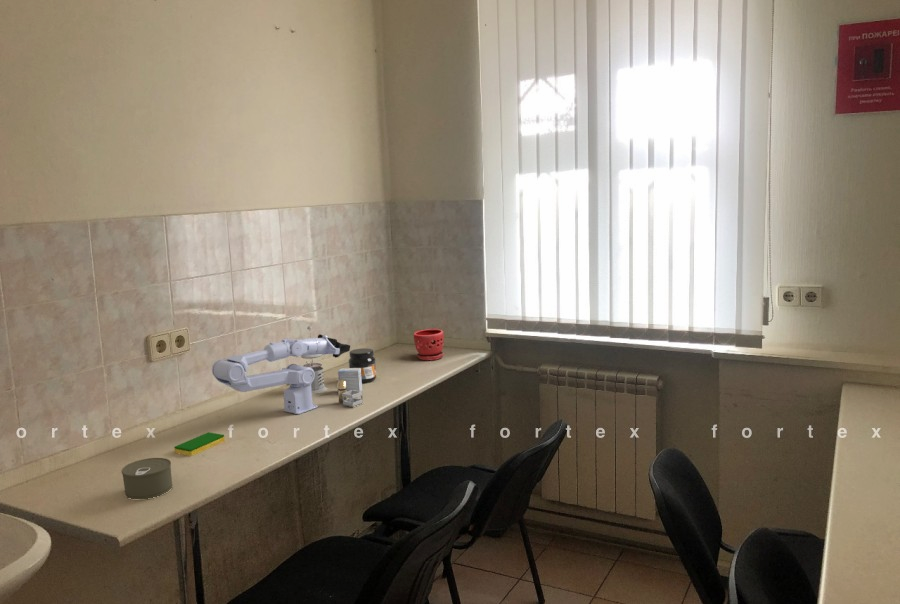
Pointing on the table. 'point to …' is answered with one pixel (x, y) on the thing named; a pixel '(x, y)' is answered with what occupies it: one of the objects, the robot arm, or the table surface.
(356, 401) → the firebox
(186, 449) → the dish sponge
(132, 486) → the can
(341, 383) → the gold domed cylinder
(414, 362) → the table surface
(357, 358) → the supplement container
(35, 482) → the table surface
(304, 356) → the french press
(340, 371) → the medicine box
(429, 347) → the plant pot
